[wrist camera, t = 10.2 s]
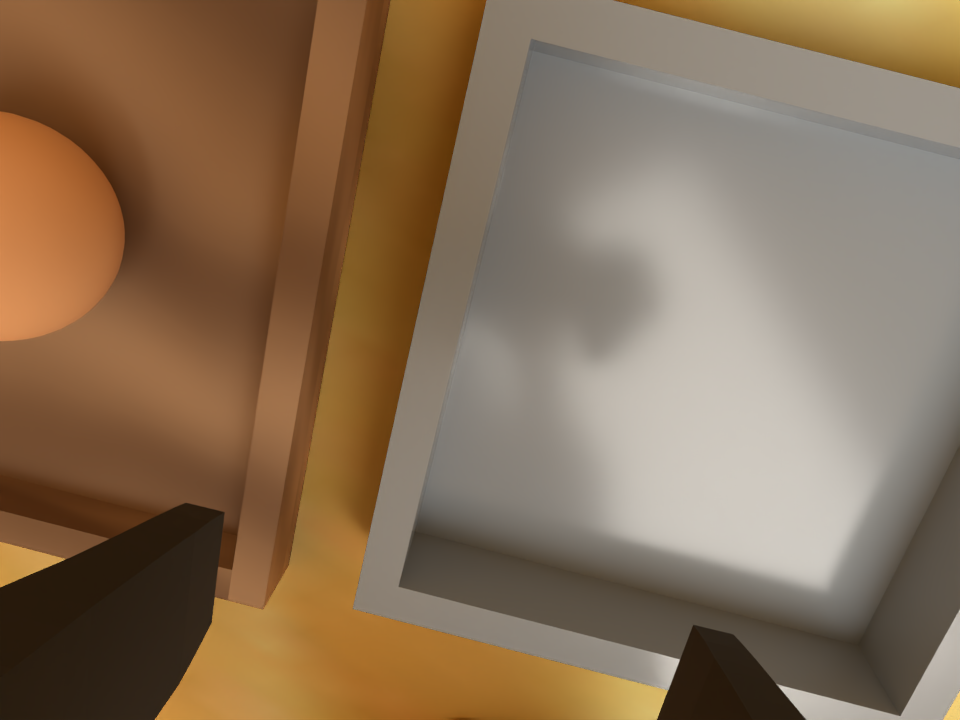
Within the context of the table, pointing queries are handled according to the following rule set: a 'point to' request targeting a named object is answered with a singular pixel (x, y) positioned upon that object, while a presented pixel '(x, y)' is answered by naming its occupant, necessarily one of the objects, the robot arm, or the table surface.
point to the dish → (687, 364)
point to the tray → (189, 265)
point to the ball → (52, 230)
